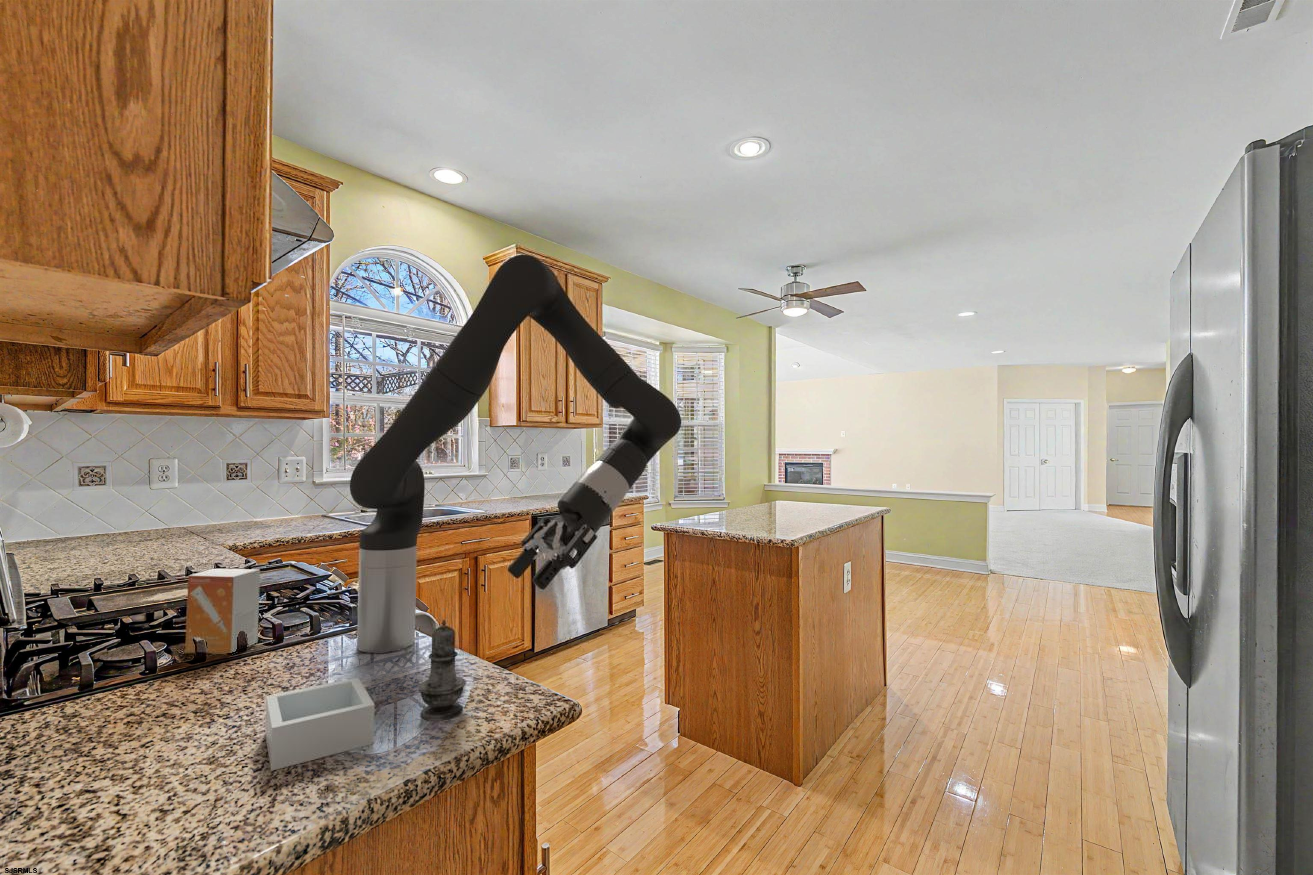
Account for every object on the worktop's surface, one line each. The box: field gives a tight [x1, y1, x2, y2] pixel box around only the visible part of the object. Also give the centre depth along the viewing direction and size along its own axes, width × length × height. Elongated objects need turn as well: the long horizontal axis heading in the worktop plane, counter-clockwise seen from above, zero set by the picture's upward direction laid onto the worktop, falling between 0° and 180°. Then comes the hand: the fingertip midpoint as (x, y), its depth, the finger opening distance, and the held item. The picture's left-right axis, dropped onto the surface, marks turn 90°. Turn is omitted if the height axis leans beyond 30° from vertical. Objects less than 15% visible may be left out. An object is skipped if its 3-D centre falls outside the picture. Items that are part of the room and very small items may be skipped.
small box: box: [184, 568, 261, 655], centre depth 100 cm, size 8×6×13 cm
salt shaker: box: [418, 619, 467, 722], centre depth 77 cm, size 6×6×12 cm
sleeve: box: [264, 677, 375, 772], centre depth 69 cm, size 10×10×4 cm
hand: (524, 579), depth 84 cm, fingers open, 8 cm apart
